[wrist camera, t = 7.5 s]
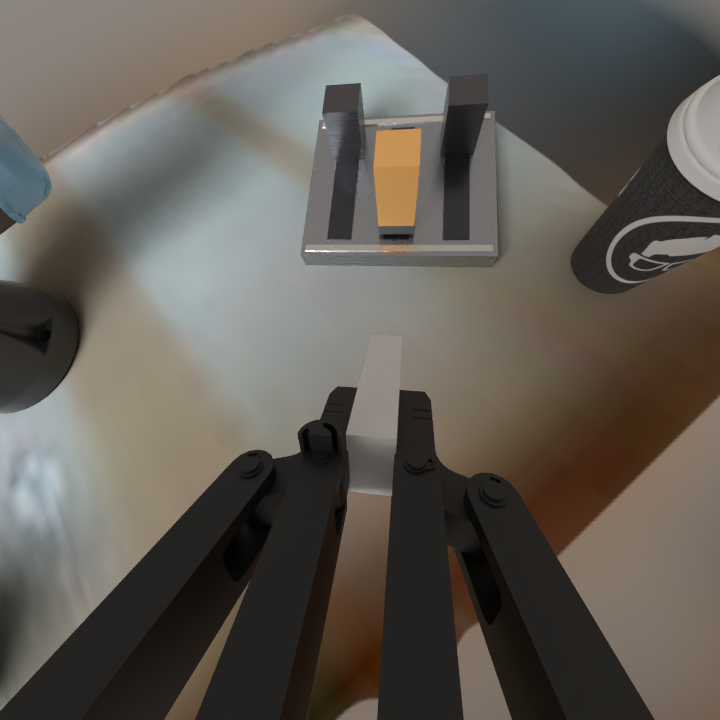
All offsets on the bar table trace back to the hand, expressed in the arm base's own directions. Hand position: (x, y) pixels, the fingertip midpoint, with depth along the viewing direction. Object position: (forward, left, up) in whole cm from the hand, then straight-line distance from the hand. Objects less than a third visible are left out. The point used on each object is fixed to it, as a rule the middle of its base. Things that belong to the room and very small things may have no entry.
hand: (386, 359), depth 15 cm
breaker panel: (-13, +19, -15) cm, 27 cm away
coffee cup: (+9, +24, -15) cm, 29 cm away
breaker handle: (-10, +14, -12) cm, 22 cm away
